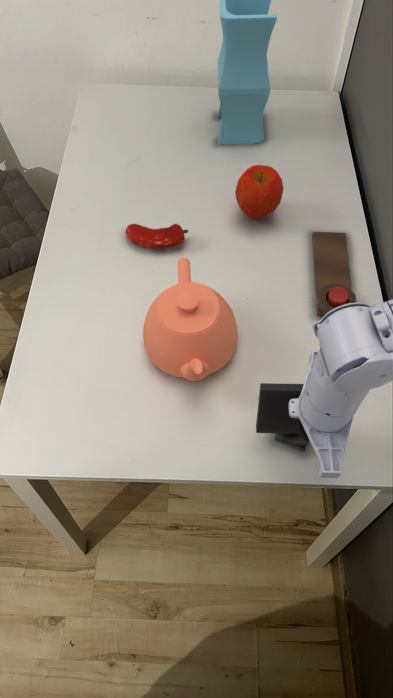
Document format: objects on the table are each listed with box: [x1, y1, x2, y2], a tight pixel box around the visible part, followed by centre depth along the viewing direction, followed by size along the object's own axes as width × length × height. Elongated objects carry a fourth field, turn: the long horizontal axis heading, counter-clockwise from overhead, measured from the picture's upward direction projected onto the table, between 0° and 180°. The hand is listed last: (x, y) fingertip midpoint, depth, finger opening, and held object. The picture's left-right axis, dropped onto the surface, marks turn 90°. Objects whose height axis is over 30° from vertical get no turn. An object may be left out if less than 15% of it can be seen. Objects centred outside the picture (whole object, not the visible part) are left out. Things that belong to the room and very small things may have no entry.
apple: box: [234, 164, 284, 221], centre depth 91 cm, size 9×8×11 cm
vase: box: [217, 0, 278, 145], centre depth 97 cm, size 10×10×25 cm
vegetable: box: [124, 223, 189, 250], centre depth 92 cm, size 4×5×12 cm
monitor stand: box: [274, 433, 309, 452], centre depth 71 cm, size 5×5×7 cm
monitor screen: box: [255, 382, 304, 434], centre depth 66 cm, size 1×12×9 cm, turn 89°
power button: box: [327, 286, 349, 307], centre depth 82 cm, size 3×3×2 cm
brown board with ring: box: [311, 231, 357, 317], centre depth 87 cm, size 19×6×2 cm, turn 176°
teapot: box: [142, 257, 239, 382], centre depth 77 cm, size 22×15×12 cm
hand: (311, 436), depth 63 cm, fingers closed
